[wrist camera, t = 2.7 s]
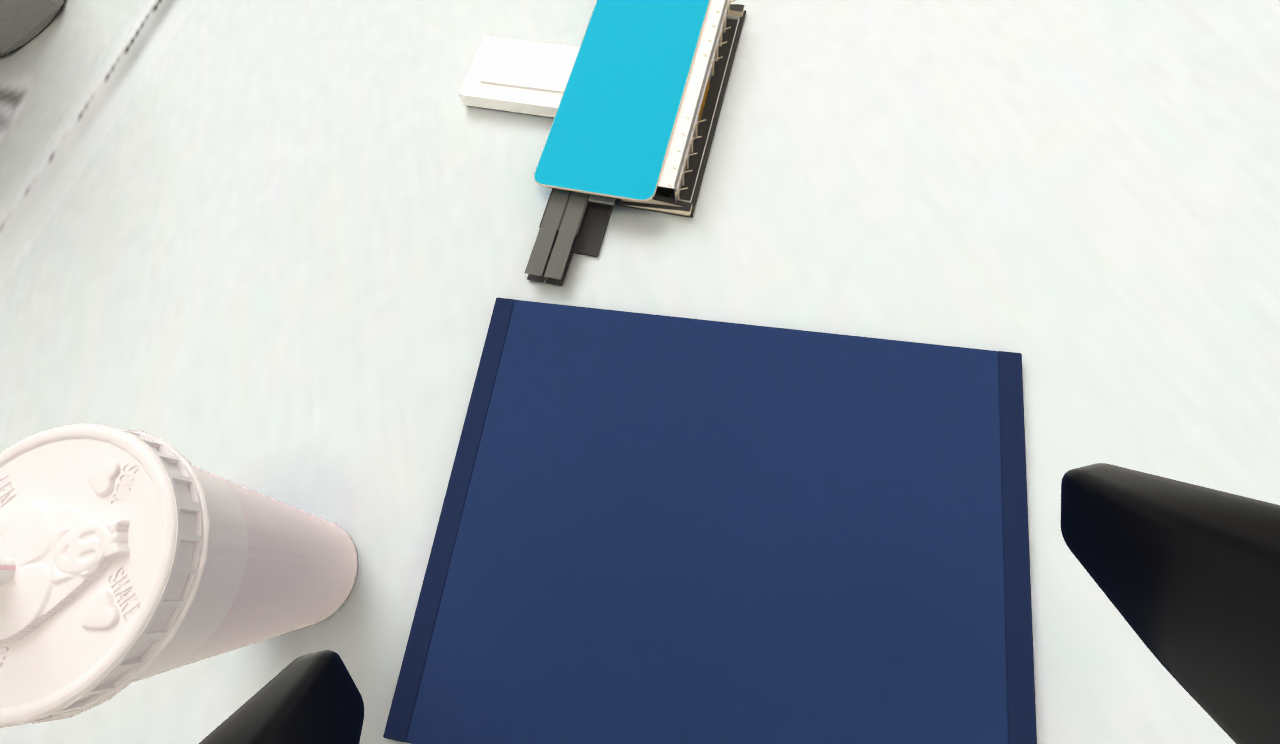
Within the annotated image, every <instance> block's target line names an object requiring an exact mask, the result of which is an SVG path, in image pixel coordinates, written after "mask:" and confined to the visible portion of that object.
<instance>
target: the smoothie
mask: <svg viewBox="0 0 1280 744" xmlns="http://www.w3.org/2000/svg"><path fill="white" fill-rule="evenodd" d="M357 567H358V561H357V553H356V549H355V546H354V543H353V541H352V539H351V538H350V536H349V535H348V534H347V533H346V531H345V530H343V529H342V528H341V527H340V526H338V525H336V524H334V523H332V522H329V521H327V520H324V519H322V518H319V517H317V516H314V515H312V514H309V513H307V512H304V511H302V510H300V509H297V508H295V507H292V506H290V505H287V504H285V503H282V502H280V501H277V500H275V499H273V498H270V497H268V496H265V495H263V494H260V493H258V492H255V491H253V490H250V489H248V488H245V487H243V486H241V485H238V484H236V483H233V482H231V481H228V480H226V479H223V478H221V477H218V476H216V475H213V474H211V473H210V472H208V471H205V470H203V469H200V468H198V467H195V466H192V464H191V463H190V462H189V461H188V460H187V459H186V458H185V457H184V456H183V455H182V454H181V453H180V452H179V451H178V450H176V449H175V448H174V447H173V446H172V445H171V444H170V443H168V442H166V441H164V440H161V439H159V438H157V437H154V436H152V435H150V434H147V433H145V432H143V431H132V430H122V429H118V428H114V427H110V426H106V425H99V424H71V425H65V426H60V427H56V428H52V429H48V430H45V431H42V432H39V433H37V434H34V435H32V436H29V437H27V438H25V439H23V440H21V441H19V442H17V443H15V444H13V445H12V446H10V447H8V448H7V449H5V450H4V451H2V452H0V728H4V727H11V726H17V725H22V724H27V723H32V724H34V723H40V722H46V721H52V720H58V719H64V718H70V717H73V716H75V715H77V714H79V713H82V712H84V711H86V710H88V709H90V708H92V707H94V706H97V705H99V704H101V703H103V702H105V701H107V700H110V699H111V698H112V697H113V696H115V695H116V694H117V693H119V692H120V691H121V690H122V689H124V688H125V687H126V686H128V685H129V684H130V683H132V682H135V681H138V680H142V679H145V678H148V677H151V676H154V675H157V674H160V673H162V672H165V671H169V670H172V669H175V668H178V667H181V666H184V665H187V664H191V663H194V662H197V661H200V660H203V659H206V658H210V657H213V656H216V655H219V654H222V653H225V652H228V651H232V650H235V649H238V648H241V647H244V646H247V645H250V644H254V643H257V642H260V641H263V640H266V639H269V638H272V637H276V636H279V635H282V634H285V633H288V632H291V631H294V630H298V629H301V628H304V627H307V626H310V625H313V624H316V623H319V622H321V621H323V620H325V619H326V618H328V617H329V616H331V615H332V614H333V613H335V612H336V611H337V610H338V609H339V608H340V607H341V605H342V604H343V603H344V602H345V600H346V599H347V597H348V596H349V594H350V592H351V590H352V588H353V585H354V582H355V579H356V574H357Z"/></svg>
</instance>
